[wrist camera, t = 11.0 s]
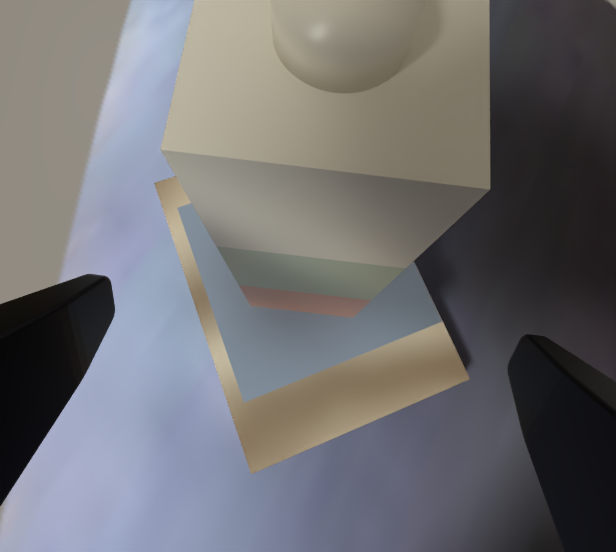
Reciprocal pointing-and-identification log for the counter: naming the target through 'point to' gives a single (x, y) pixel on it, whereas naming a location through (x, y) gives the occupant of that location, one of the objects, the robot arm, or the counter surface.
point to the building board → (317, 374)
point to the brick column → (330, 139)
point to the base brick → (299, 322)
